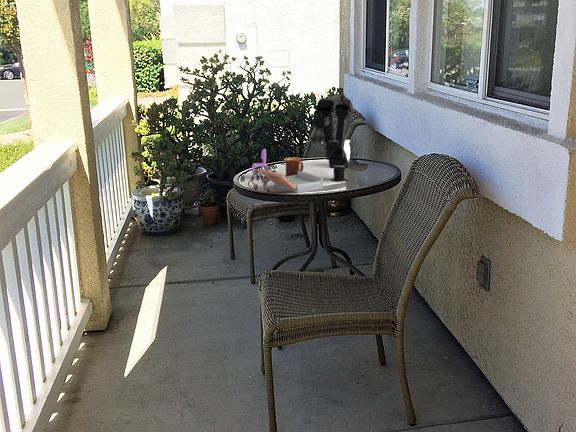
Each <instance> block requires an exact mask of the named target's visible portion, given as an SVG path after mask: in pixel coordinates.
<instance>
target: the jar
mask: <svg viewBox="0 0 576 432" xmlns="http://www.w3.org/2000/svg"><path fill="white" fill-rule="evenodd" d="M350 142H351V140H350V139H346V138H345V143H344V151H345V153H346V157H347V160H348V162H349V163H350V157H351V146H350Z"/></svg>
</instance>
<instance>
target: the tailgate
mask: <svg viewBox="0 0 576 432" xmlns="http://www.w3.org/2000/svg"><path fill="white" fill-rule="evenodd" d="M259 172H260V173H261V174H263V175H264V176H265V177H266V178H267V179H268V180H270V181H271V182H272V183H274V184H275V183H277V184H280V185H283V186H286V187H290V188H293V189H295V188H296V186H295V185H293V184H292V183H291V182H290V181H289V180H288V179H287V178H286V176H284V174H281V173H277V172H274V171H271V170H269V171H267V170H266V169H263V168H260V169H259Z"/></svg>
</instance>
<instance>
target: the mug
mask: <svg viewBox="0 0 576 432" xmlns="http://www.w3.org/2000/svg"><path fill="white" fill-rule="evenodd" d="M301 159H302V158H301V157H296V156H292V157H285V158H283V161H284V164H285V166H284V167H285V177H287V176H293V175H298V171H301V172H304V162H303V161H301Z"/></svg>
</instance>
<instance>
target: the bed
mask: <svg viewBox="0 0 576 432" xmlns="http://www.w3.org/2000/svg"><path fill="white" fill-rule="evenodd" d="M285 177H286V176H285ZM286 178H287V179H288V180H289V181H290V182H291V183H292V184H293V185H295V186H296V188H295V189H293V188H290V187H286V186H283V185H280V184H277V183H274V186H275V187H277V188H280V189H283V190H286V191H290V192H293V193H296V192H297V193H296V194H300V193H299V192H301V193H306V192H311V191H312V192H313V191H318V190H322V189H324V180H323V179H324V178H323V176H320V175H315V174H312V173H308V172H306V171H305V172H304V171H302V172H301V171H298V175H293V176H287V177H286Z"/></svg>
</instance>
